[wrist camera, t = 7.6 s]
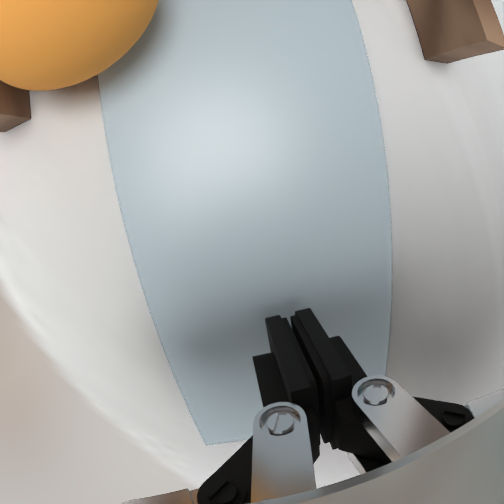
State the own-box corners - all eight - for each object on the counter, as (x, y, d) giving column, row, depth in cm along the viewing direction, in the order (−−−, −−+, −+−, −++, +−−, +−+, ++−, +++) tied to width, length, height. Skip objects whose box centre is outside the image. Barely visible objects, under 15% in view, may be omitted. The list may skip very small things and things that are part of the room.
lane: (380, 399, 15) (381, 401, 15) (205, 442, 14) (206, 445, 14) (271, -152, 4) (272, -154, 3) (111, -133, 3) (110, -134, 3)
